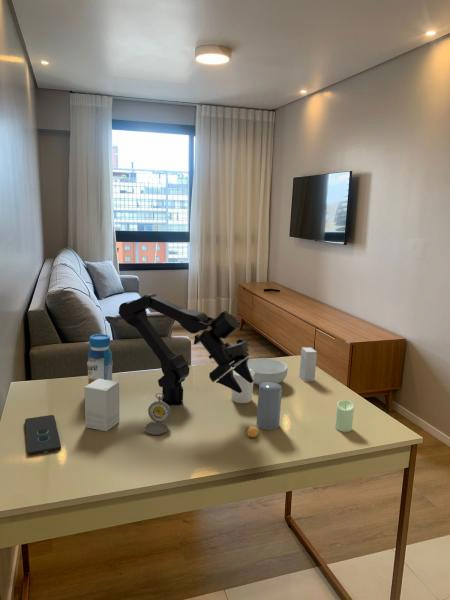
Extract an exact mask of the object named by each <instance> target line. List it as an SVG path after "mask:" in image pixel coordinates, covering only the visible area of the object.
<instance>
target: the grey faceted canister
mask: <svg viewBox="0 0 450 600" xmlns="http://www.w3.org/2000/svg"><path fill="white" fill-rule="evenodd" d="M257 393H258V395H257V396H258V399H257V411H256V412H257V413H256V425H257V426H258V427H259V429H263V430H266V431H272V430H278V428H279V426H280V419H281V407H282V406H281V405H282V393H283V387H282V385H281V384H280V383H278V384H277V383H273V382H264V383H261V384H260V385H258V392H257Z"/></svg>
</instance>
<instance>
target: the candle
mask: <svg viewBox="0 0 450 600" xmlns="http://www.w3.org/2000/svg"><path fill="white" fill-rule="evenodd" d="M354 411H355V405H354V403H353V401H350V400H348V399H341V400H339V401H337V403H336V413H335V423H334V428H335V429H336V430H337V431H340V432H342V433H347V432H351V431H352V430H353V422H354V421H353V420H354Z"/></svg>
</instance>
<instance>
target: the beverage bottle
mask: <svg viewBox="0 0 450 600" xmlns="http://www.w3.org/2000/svg"><path fill="white" fill-rule="evenodd" d="M110 346H111V336H110V335H108V334H103V333H97V334H91V336H90V335H89V347H90V349H89V350H88V353H87V359H88V360H87V363H86V367H87V385H89V384H90V383H92V382H94V381H95V380H97V379H104V380H109V381H113V365H114V364H113V363H114V361H113V359H112V358H113V353H112V351H111V348H110Z"/></svg>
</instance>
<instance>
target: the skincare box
mask: <svg viewBox="0 0 450 600" xmlns="http://www.w3.org/2000/svg"><path fill="white" fill-rule="evenodd" d="M317 357H318V351H316V349H314V348H313V347H301V352H300V365H299V376H298V377H299V378H301V379H302V380H303V381H304V382H314V381H315V379H316V378H315V377H316V370H317V369H316V368H317V367H316V366H317V359H318V358H317ZM315 382H316V381H315Z"/></svg>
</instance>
